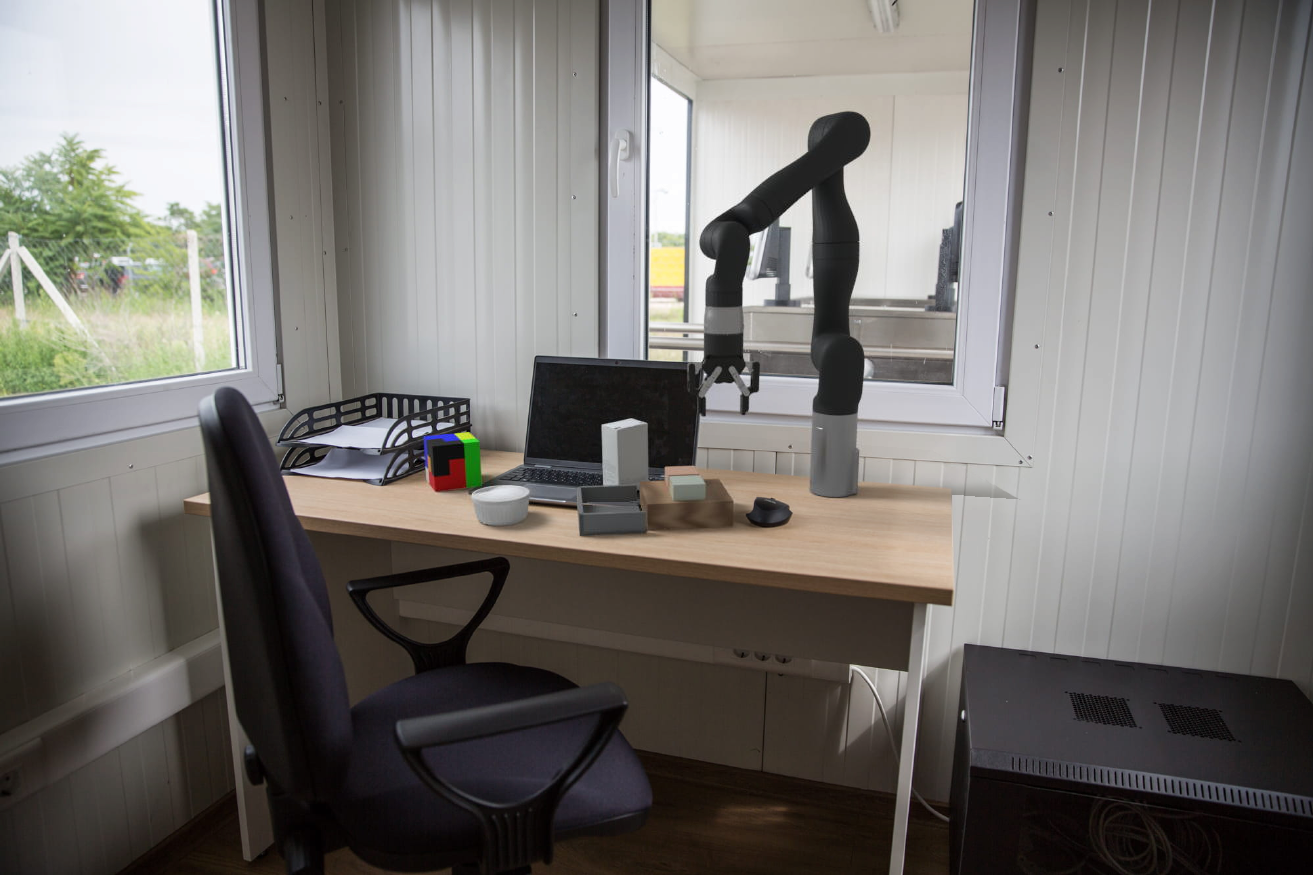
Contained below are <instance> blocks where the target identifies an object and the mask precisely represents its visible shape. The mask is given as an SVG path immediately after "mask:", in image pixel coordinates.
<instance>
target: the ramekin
mask: <svg viewBox="0 0 1313 875" xmlns="http://www.w3.org/2000/svg"><path fill="white" fill-rule="evenodd" d="M530 498H531V491H530V489H529V488H526V487H524V486H519V485H511V484H509V485H508V484H507V485H505V484H503V485H492V486H486V487H482V488H479V489H477V490H475V491H473V492H472V493H471V501H472V503H473V507H474V514H475V517H476V519H477V520H478V521H479V522H480V523H481V522H482V523H481V524H483V525H486V524H488V525H487V526H492V525H494V527H496V526H497V527H498V526H499V527H500V526H502V527H503V526H510V525H511V524H512V525H516V524H519V523H520V522H523V521H524V520H525V519H526V518H527V516H528V512H529V506H530V504H529V503H530Z"/></svg>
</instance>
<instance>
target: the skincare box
mask: <svg viewBox="0 0 1313 875" xmlns="http://www.w3.org/2000/svg"><path fill="white" fill-rule="evenodd" d="M648 425H649V423H647V422H645V421H641V420H637V419H636V418H627V419H623V420H617V421H613V422H608V423H604V424H601V448H602V450H601V451H602V482H603V484H602V486H606V485H633V484H637V490H640V482H641V481H649V441H648V440H649V439H648V438H649V436H648V434H649V433H648V430H649V429H648V428H649V426H648Z"/></svg>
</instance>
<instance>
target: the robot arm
mask: <svg viewBox="0 0 1313 875" xmlns="http://www.w3.org/2000/svg"><path fill="white" fill-rule="evenodd" d="M871 131H872V130H871V126H870V123H869V122H868V120H867V119H866V117H865V116H864V115H863V114H861V113H859V112H856V111H852V110H851V111H850V110H846V111H840V112H835V113H831V114H827V115H824V116H823V115H822V116H821V117H818V118H817V119H816V120H814V121H813V123H812V124H811V126H810V128H809V131H808V135H807V152H805V153H804V154H802V155H801V156H800V157H798V158H796V159H795V160H794V161H793V162H791V163H789V164H788V165H786V166H784V167H783V168H780V169H779V170H778V171H776V172H775V173H773V174H771V175H770V176H769V177H767V178H766V179H764V180H763V181H762V182H760V183H759V184H758V186H756V187H755V188H754V189H753V190H752V191H750V192H749V193H748V194H747V195H746V196H745V197H744V198H743V199H742V200H741V201H740V202H738V203H737V204H735V205H733V206H732V207H731V208H729V209H727V210H726V211H724V212H722V213H721V214H720V215H718V216H716V217H715V218H713V219H712V220H711V221H710V222H708V223H707V225H706V226H705V227H704V228H703V230H702V232H701V233H700V236H699V242H698V244H699V249H700V251H701V253H702V254H703V255H704V256H705V257H706V258H709V259H710V260H715V264H714V270H713V273H712V274H710V275H709V276H708V277H707V278H706V279H705V280H706V281H705V293H704V294H705V298H704V299H705V300H704V302H705V304H704V306H705V307H704V316H703V358H702V361H701V362H693V361H688V362H687V364H686V371H687V372H686V373H687V374H686V375H687V376H686V377H687V378H686V380H687V382H686V383H687V385H686V386H687V391H688V392H689V394H690V395H693V396H696V399H697V400H696V404H697V406H696V408H697V413H698V414H700V416H701V417H703V418H704V417H706V416H707V398H706V394H707V393H708V391H709V390H710V389H711V387H712V386H713V384H717V385H719V384H720V385H721V384H724V383H725V384H733V383H734V384H735V385H736V386H737V388H738V389H739V391H740V393H741V394H740V396H739V414H740V415H741V416H746V414H747V413H748V412H749V410H750V396H751V395H752V394H754V393H756V394H757V393H759V391H760V376H761V375H760V370H761V369H760V368H761V363H760V362H759V361H757V360H756V359H752V361H751V360H749V361H746V360H745V359H744V338H745V337H744V330H745V324H744V322H745V321H744V320H745V318H744V308H743V307H744V306H743V301H744V300H743V299H744V297H743V296H744V294H743V293H744V290H743V289H744V288H743V285H744V284H743V283H744V279H745V276H746V273H747V268H748V264H749V261H750V260H749V259H750V254H751V238H750V236H752V235H754V234H757V233H761V232H763V231H765V230H767V229H768V228H769V227H770V226H771V225H772V224H773V223H775V221H777V220H779V218H781V216H783V214H784V213H786V212H787V211H788V210H789V209H790V208H791V207H792V206H794V205H795V204H796V203H797V202H798V201H800V199H801V198H802V197H804V196H805V195H806V194H808V193H809V192H811V209H812V211H811V212H812V213H811V214H812V217H811V218H812V234H811V236H812V237H811V238H812V239H811V240H812V242H811V243H812V247H811V249H812V250H811V254H812V255H811V260H812V285H813V286H812V290H813V292H812V293H813V323H812V332H811V334H812V335H811V339H810V341H811V344H810V359H811V364H812V365H813V367H814V368H815V369H816V370H817V372H818V385H817V392H816V395H815V396H814V397H813V399H812V413H811V414H812V415H811V438H810V439H811V440H810V441H811V442H810V444H811V445H810V467H809V491H810V492H811V493H812V494H814V495H818V496H822V497H830V498H840V497H841V498H843V497H848V496H851V495H857V494H858V492H859V491H858V488H859V486H858V485H859V468H860V467H859V466H860V465H859V464H860V449H859V448H858V447H857V439H858V438H857V436H858V435H857V434H858V419H859V404H860V401H861V400H862V398H863V397H862V396H863V390H864V389H863V388H864V380H865V379H864V377H865V360H866V359H865V350H864V347H863V345H862V343H860V341H859V340H857V339H856V338H855V337H853V336H851V331H850V329H851V328H850V304H851V298H852V295H853V291H854V288H855V284H856V281H857V278H858V274H859V267H860V249H861V248H860V229H859V226H858V224H857V223H858V222H857V221H856V216H855V215H854V213H853V211H852V208H851V206H850V204H849V200H848V199H847V195H846V190H845V181H844V180H845V178H844V177H845V176H844V174H845V166H847V165H849V164H850V163H852V162H854V161H855V160H856V159H858V158H860V157H861V156H862V155H863V154H864V153H865V151H866V150H867V148H868V147H869V144H870V142H871V134H872V133H871ZM745 368H746V369H747V371H748V372H749V373H750V379H749V380H750V383H749V386H747V385H746V383H745V382H744V380H743V378H742V377H741V376H740V375H741V374H742V373H743V371H744V370H745ZM701 369H702V370H703V372H704V373H705V377H704V378H703V380H702V382H701V384H700V386H699V387H698V388H697V387H696V385H697V384H696V375H698V374H699V371H700V370H701Z"/></svg>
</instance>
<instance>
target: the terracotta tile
mask: <svg viewBox="0 0 1313 875" xmlns="http://www.w3.org/2000/svg"><path fill="white" fill-rule="evenodd" d="M693 475H700V472H699V471H698V469H697V467H696V465H681V466H680V465H677V466H676V465H675V466H665V467H664V481H665V483H666V485H667V487H668V490H669V476H693Z"/></svg>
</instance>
